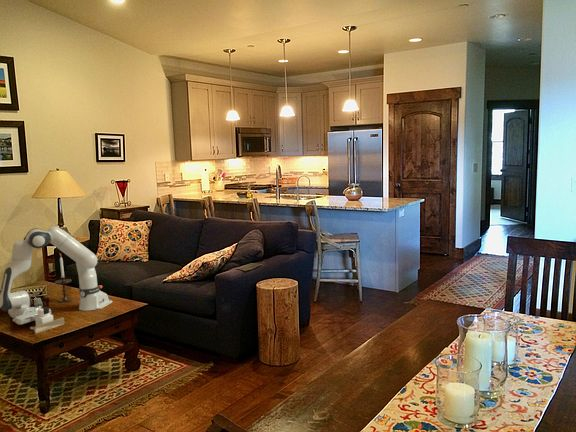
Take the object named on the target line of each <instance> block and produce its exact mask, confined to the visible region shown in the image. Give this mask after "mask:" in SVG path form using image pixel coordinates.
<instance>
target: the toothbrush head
mask: <svg viewBox="0 0 576 432" xmlns="http://www.w3.org/2000/svg"><path fill="white" fill-rule="evenodd" d="M34 297H35V298H34V299H33V300H34V302H33V305H34V307H37V306H42V307H44V305H43V303H44V302H43V301H42V299H41V297H36V296H34Z"/></svg>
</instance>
